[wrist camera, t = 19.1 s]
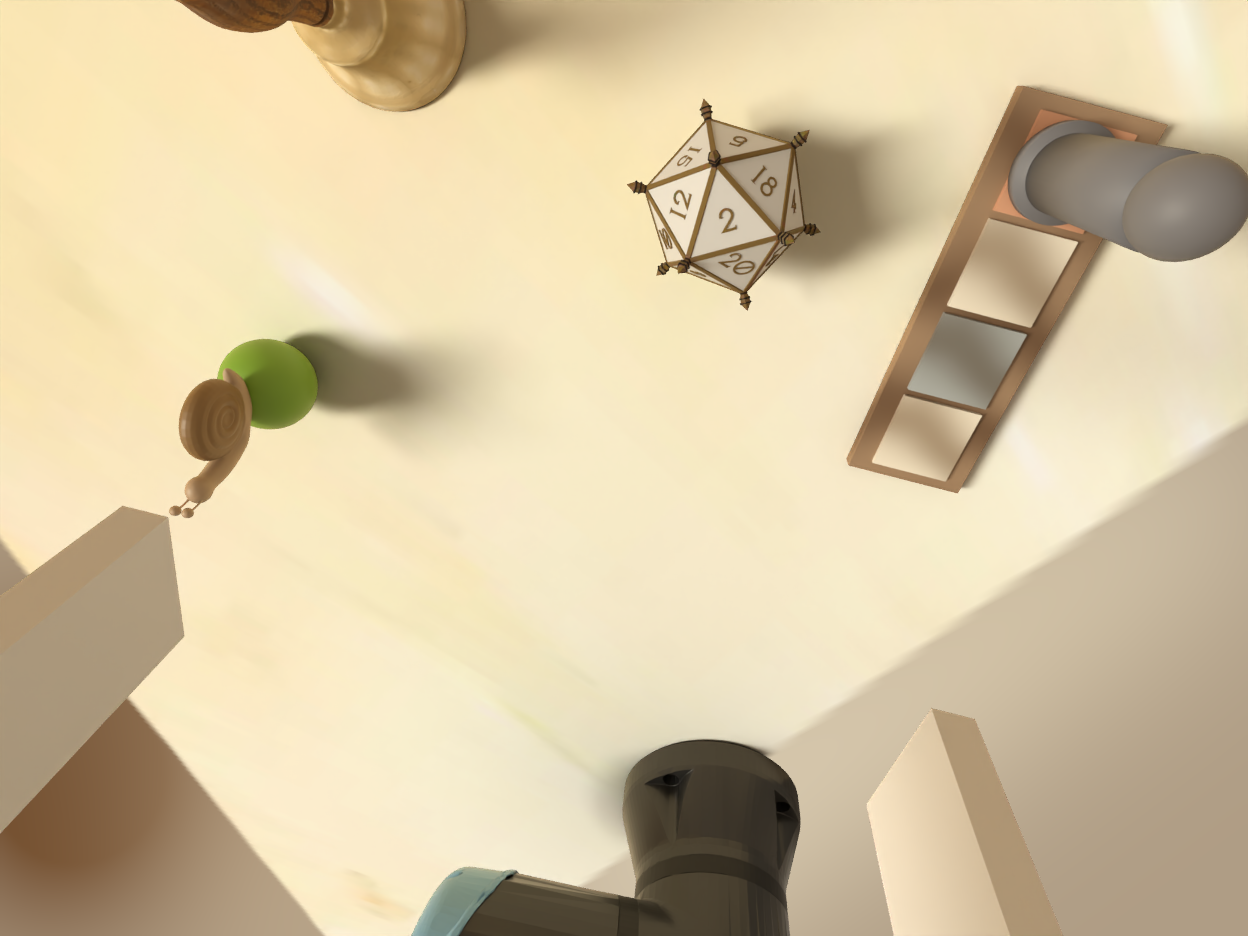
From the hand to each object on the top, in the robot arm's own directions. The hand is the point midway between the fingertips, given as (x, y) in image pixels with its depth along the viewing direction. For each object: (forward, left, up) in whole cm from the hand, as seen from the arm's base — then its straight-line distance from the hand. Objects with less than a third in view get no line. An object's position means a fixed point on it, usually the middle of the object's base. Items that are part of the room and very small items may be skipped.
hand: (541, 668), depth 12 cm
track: (+2, -18, -31) cm, 36 cm away
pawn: (+9, -18, -30) cm, 36 cm away
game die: (+4, -3, -31) cm, 31 cm away
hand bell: (+8, +16, -31) cm, 36 cm away
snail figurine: (-13, +21, -31) cm, 40 cm away
